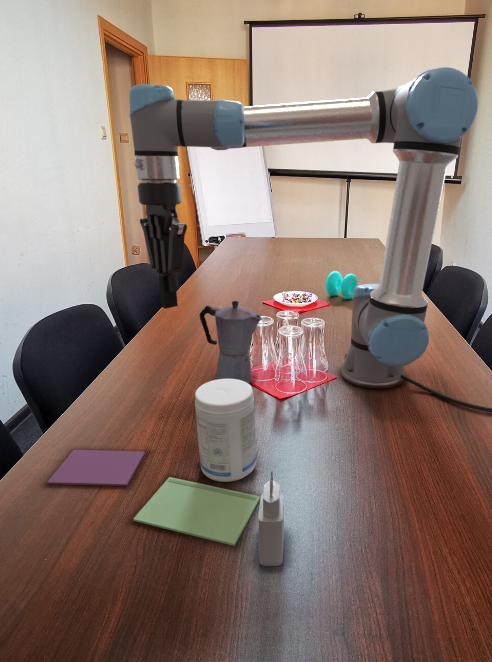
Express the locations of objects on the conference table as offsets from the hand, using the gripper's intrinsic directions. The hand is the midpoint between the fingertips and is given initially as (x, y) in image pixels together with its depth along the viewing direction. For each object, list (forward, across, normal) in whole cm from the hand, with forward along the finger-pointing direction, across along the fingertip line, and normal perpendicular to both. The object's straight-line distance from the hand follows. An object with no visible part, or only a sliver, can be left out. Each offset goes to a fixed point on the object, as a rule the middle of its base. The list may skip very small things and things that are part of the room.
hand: (169, 306), depth 91 cm
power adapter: (+23, +43, -12) cm, 50 cm away
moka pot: (+23, -2, +16) cm, 28 cm away
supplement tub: (+23, +24, -5) cm, 34 cm away
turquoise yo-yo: (+23, -30, +93) cm, 100 cm away
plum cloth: (+22, +9, -21) cm, 32 cm away
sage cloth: (+22, +30, -15) cm, 40 cm away
